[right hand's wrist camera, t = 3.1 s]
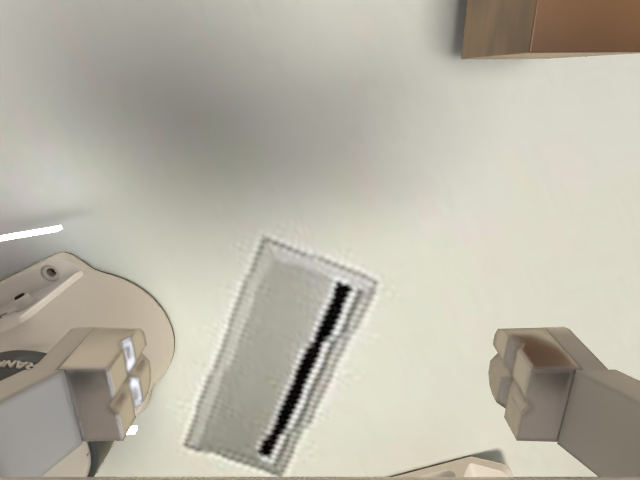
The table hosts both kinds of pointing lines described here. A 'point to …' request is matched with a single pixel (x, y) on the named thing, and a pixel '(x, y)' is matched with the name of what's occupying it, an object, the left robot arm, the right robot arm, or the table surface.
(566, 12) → the box
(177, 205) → the table surface
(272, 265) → the table surface
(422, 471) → the tablet stand
